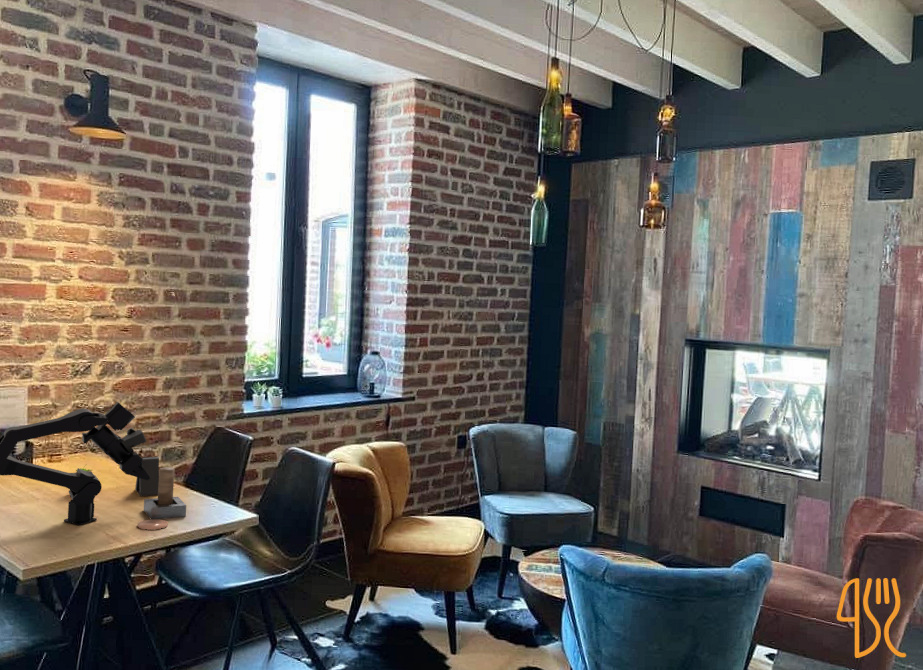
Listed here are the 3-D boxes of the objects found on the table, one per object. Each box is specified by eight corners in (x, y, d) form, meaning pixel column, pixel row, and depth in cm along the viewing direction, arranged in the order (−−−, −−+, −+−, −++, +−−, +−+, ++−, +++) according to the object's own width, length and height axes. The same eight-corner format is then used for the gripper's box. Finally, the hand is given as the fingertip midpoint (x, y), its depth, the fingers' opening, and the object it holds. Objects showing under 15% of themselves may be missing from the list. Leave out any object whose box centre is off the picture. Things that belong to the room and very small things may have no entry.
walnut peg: (164, 516, 242) (167, 471, 241) (153, 513, 244) (156, 469, 243) (175, 512, 246) (177, 468, 245) (164, 510, 248) (166, 466, 247)
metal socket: (151, 519, 238) (151, 508, 237) (143, 510, 246) (144, 499, 246) (185, 516, 243) (186, 505, 243) (177, 507, 252) (177, 496, 252)
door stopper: (135, 489, 268) (136, 455, 267) (153, 488, 271) (155, 454, 270) (140, 496, 260) (142, 461, 260) (159, 495, 264) (161, 460, 263)
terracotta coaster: (152, 532, 227) (153, 529, 227) (130, 526, 230) (131, 524, 230) (174, 524, 235) (174, 522, 234) (152, 519, 238) (152, 517, 238)
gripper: (136, 428, 229) (173, 462, 236) (123, 416, 244) (158, 449, 251) (105, 456, 225) (144, 491, 232) (94, 442, 240) (131, 475, 247)
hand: (145, 475), depth 240 cm, fingers open, 9 cm apart
